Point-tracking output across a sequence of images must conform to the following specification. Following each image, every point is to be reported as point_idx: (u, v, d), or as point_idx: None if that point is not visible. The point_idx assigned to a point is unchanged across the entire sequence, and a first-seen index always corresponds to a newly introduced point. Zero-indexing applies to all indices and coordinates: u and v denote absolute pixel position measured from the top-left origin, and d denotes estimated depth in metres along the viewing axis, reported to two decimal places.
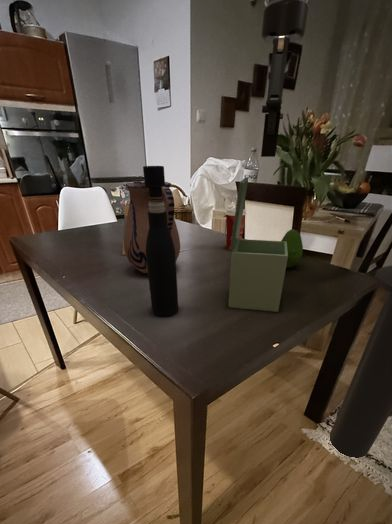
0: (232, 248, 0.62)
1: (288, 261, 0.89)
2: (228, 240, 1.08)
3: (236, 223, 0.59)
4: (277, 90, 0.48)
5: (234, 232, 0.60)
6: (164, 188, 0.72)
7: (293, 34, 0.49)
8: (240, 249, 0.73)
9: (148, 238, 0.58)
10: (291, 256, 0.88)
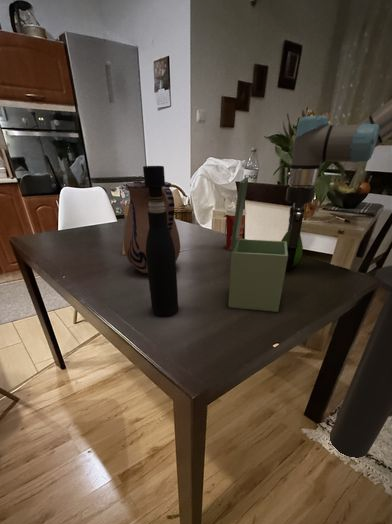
0: (232, 248, 0.62)
1: None
2: (228, 240, 1.08)
3: (236, 223, 0.59)
4: (294, 242, 0.82)
5: (234, 232, 0.60)
6: (164, 188, 0.72)
7: (305, 202, 0.81)
8: (240, 249, 0.73)
9: (148, 238, 0.58)
10: None
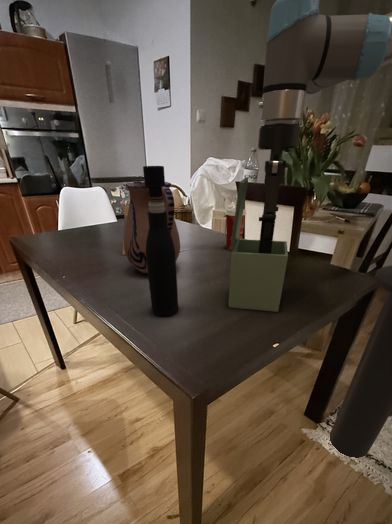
0: (232, 248, 0.62)
1: None
2: (228, 240, 1.08)
3: (236, 223, 0.59)
4: (272, 208, 0.54)
5: (234, 232, 0.60)
6: (164, 188, 0.72)
7: None
8: (240, 249, 0.73)
9: (148, 238, 0.58)
10: None
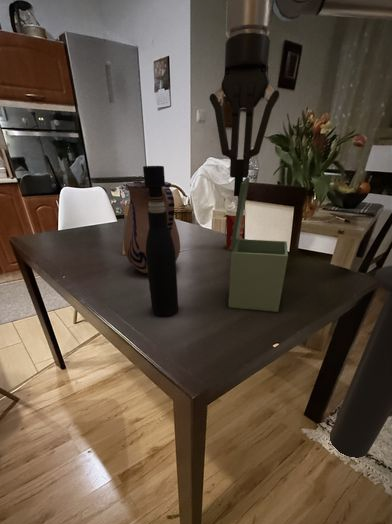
0: (232, 248, 0.62)
1: None
2: (228, 240, 1.08)
3: (237, 223, 0.59)
4: (221, 144, 0.57)
5: (234, 232, 0.60)
6: (164, 188, 0.72)
7: (233, 68, 0.49)
8: (240, 249, 0.73)
9: (148, 238, 0.58)
10: None
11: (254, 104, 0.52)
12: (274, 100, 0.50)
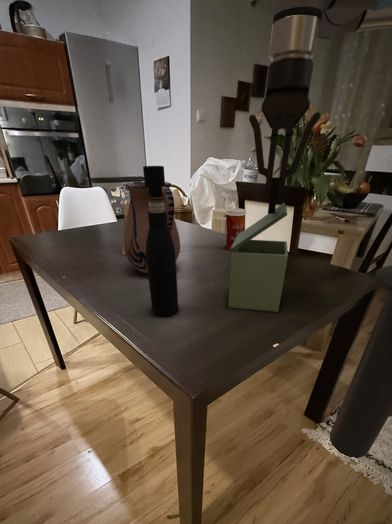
0: (233, 249, 0.62)
1: None
2: (228, 240, 1.08)
3: (254, 236, 0.60)
4: (257, 163, 0.57)
5: (246, 240, 0.61)
6: (164, 188, 0.72)
7: (275, 90, 0.49)
8: (240, 249, 0.73)
9: (148, 238, 0.58)
10: None
11: (294, 125, 0.52)
12: (314, 122, 0.51)
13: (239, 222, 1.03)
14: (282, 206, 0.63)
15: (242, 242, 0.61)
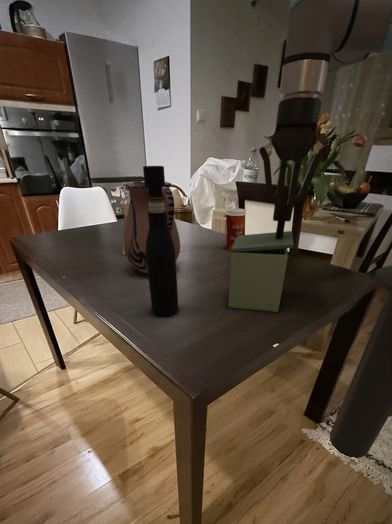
0: (233, 250, 0.63)
1: None
2: (228, 240, 1.08)
3: (257, 249, 0.61)
4: None
5: (249, 249, 0.62)
6: (164, 188, 0.72)
7: (285, 126, 0.52)
8: None
9: (148, 238, 0.58)
10: None
11: (302, 157, 0.54)
12: (322, 155, 0.53)
13: (239, 222, 1.03)
14: (289, 234, 0.66)
15: (244, 248, 0.62)
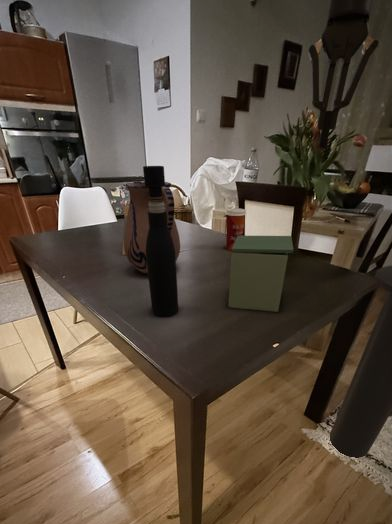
0: (233, 250, 0.63)
1: None
2: (228, 240, 1.08)
3: (257, 251, 0.62)
4: (312, 96, 0.60)
5: (249, 250, 0.62)
6: (164, 188, 0.72)
7: (337, 18, 0.53)
8: None
9: (148, 238, 0.58)
10: None
11: (352, 54, 0.55)
12: (372, 50, 0.54)
13: (239, 222, 1.03)
14: (289, 239, 0.66)
15: (244, 250, 0.62)
